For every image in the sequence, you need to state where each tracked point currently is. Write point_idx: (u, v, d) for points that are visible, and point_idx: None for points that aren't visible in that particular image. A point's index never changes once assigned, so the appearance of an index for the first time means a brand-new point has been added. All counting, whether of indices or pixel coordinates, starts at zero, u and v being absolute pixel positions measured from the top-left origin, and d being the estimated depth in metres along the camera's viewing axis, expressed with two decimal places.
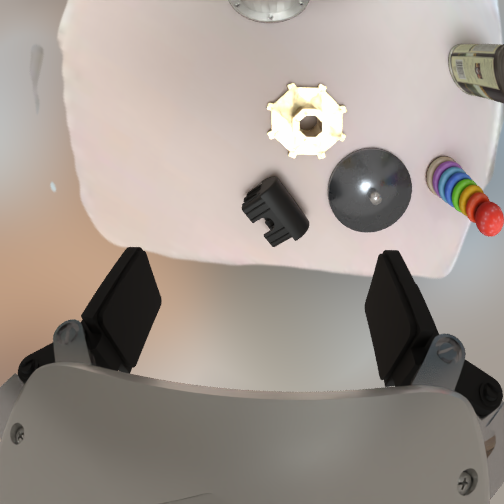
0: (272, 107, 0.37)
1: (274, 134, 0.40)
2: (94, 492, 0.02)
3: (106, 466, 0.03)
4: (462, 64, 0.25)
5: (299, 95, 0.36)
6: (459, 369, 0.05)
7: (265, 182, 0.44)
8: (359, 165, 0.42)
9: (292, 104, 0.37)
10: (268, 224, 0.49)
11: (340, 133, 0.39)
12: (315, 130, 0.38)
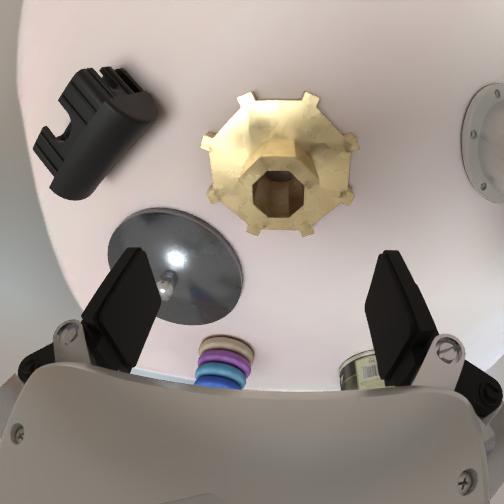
0: (308, 103, 0.17)
1: (247, 106, 0.18)
2: (94, 492, 0.02)
3: (106, 466, 0.03)
4: None
5: (334, 156, 0.20)
6: (459, 369, 0.05)
7: (142, 99, 0.17)
8: (208, 258, 0.27)
9: (315, 142, 0.19)
10: None
11: (260, 227, 0.24)
12: (263, 189, 0.20)
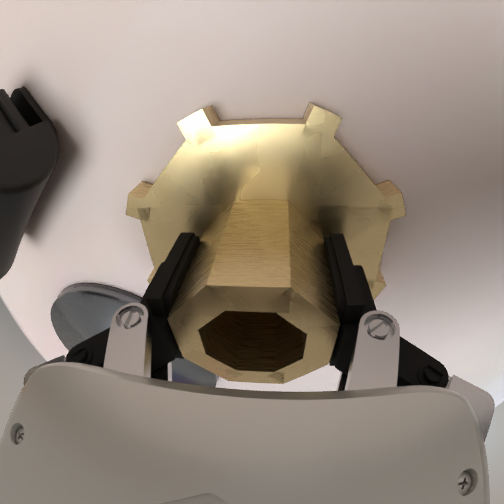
0: (319, 129, 0.09)
1: (197, 137, 0.09)
2: (94, 492, 0.02)
3: (106, 466, 0.03)
4: None
5: (361, 228, 0.11)
6: (397, 342, 0.06)
7: (32, 139, 0.09)
8: None
9: (329, 205, 0.11)
10: None
11: None
12: None
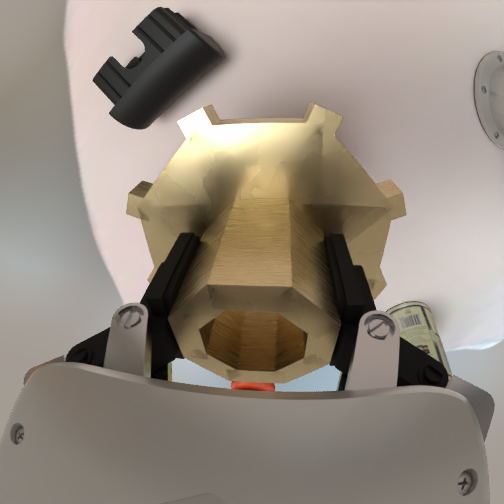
0: (320, 128, 0.09)
1: (198, 136, 0.09)
2: (94, 492, 0.02)
3: (106, 466, 0.03)
4: (417, 324, 0.32)
5: (362, 228, 0.11)
6: (397, 342, 0.06)
7: (211, 40, 0.18)
8: None
9: (329, 204, 0.11)
10: (132, 62, 0.20)
11: None
12: None
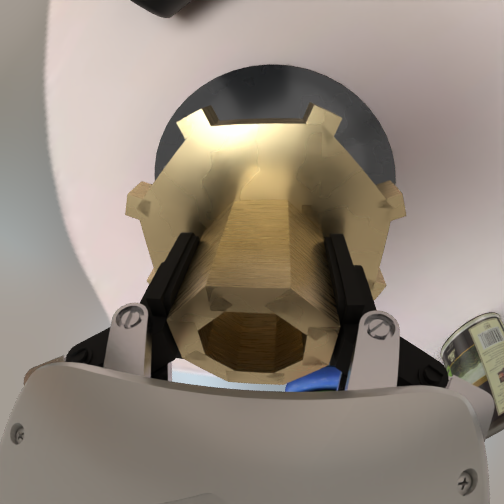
0: (320, 129, 0.09)
1: (197, 136, 0.09)
2: (94, 492, 0.02)
3: (106, 466, 0.03)
4: (499, 340, 0.20)
5: (361, 228, 0.11)
6: (397, 342, 0.06)
7: None
8: (355, 150, 0.15)
9: (329, 205, 0.10)
10: None
11: None
12: None
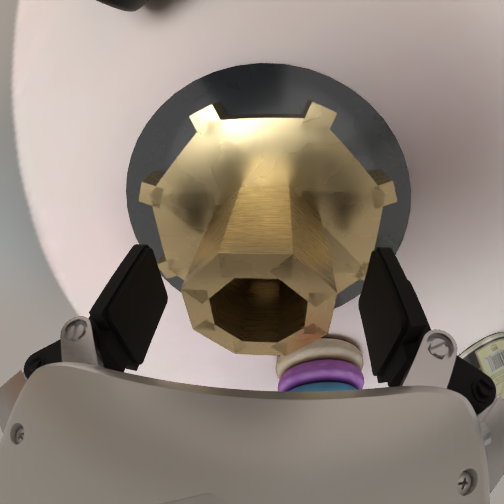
0: (317, 122, 0.10)
1: (208, 129, 0.10)
2: (94, 492, 0.02)
3: (106, 466, 0.03)
4: None
5: (356, 213, 0.12)
6: (452, 364, 0.05)
7: None
8: None
9: (326, 191, 0.12)
10: None
11: None
12: None
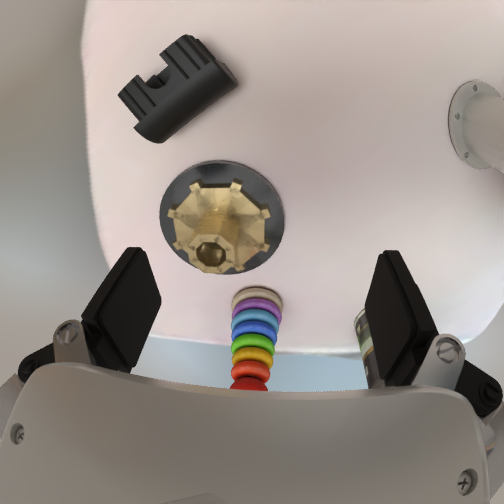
0: (234, 189, 0.30)
1: (195, 191, 0.30)
2: (94, 492, 0.02)
3: (106, 466, 0.03)
4: None
5: (253, 221, 0.32)
6: (459, 369, 0.05)
7: (227, 68, 0.22)
8: None
9: (240, 213, 0.32)
10: (151, 80, 0.24)
11: None
12: (207, 244, 0.33)
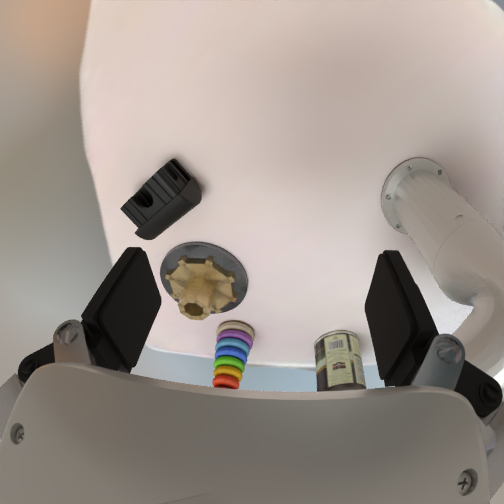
0: (208, 264, 0.44)
1: (182, 265, 0.44)
2: (94, 492, 0.02)
3: (106, 466, 0.03)
4: (340, 347, 0.51)
5: (223, 284, 0.46)
6: (459, 369, 0.05)
7: (193, 186, 0.36)
8: None
9: (213, 279, 0.46)
10: (142, 189, 0.38)
11: None
12: None
